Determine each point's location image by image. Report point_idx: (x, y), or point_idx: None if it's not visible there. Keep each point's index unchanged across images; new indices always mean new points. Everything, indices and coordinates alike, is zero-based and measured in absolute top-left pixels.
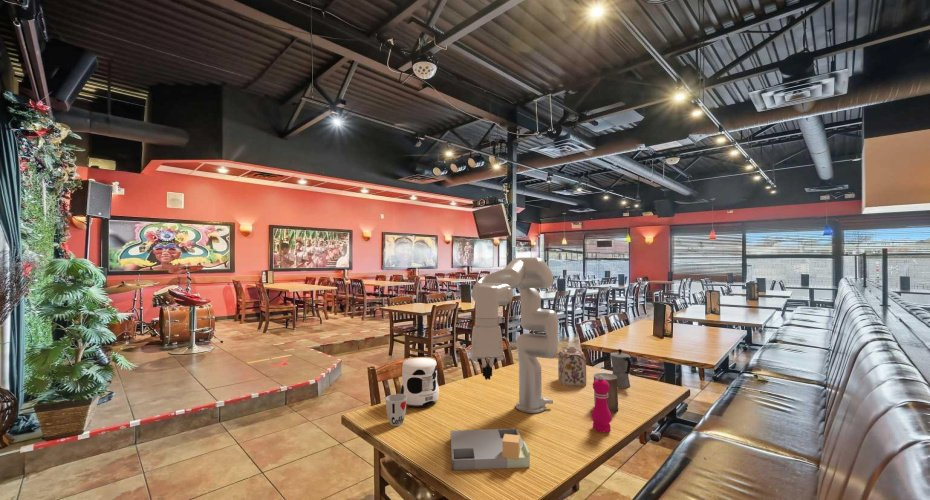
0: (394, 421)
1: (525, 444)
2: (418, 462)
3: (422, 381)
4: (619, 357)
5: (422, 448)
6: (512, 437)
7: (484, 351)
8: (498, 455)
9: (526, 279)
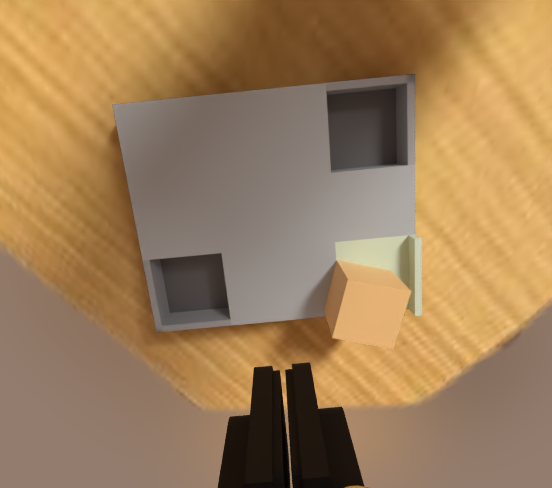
0: None
1: (419, 261)
2: (48, 277)
3: None
4: None
5: (33, 185)
6: (376, 309)
7: None
8: (311, 299)
9: None
